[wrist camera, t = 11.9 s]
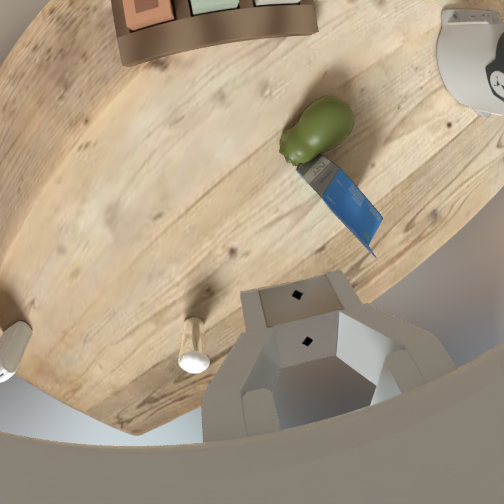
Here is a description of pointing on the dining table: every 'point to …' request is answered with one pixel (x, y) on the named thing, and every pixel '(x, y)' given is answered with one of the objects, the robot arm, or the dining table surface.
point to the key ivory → (274, 1)
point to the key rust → (147, 13)
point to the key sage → (212, 6)
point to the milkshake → (193, 347)
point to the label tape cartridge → (342, 198)
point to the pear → (317, 130)
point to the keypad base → (211, 28)
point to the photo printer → (13, 348)
